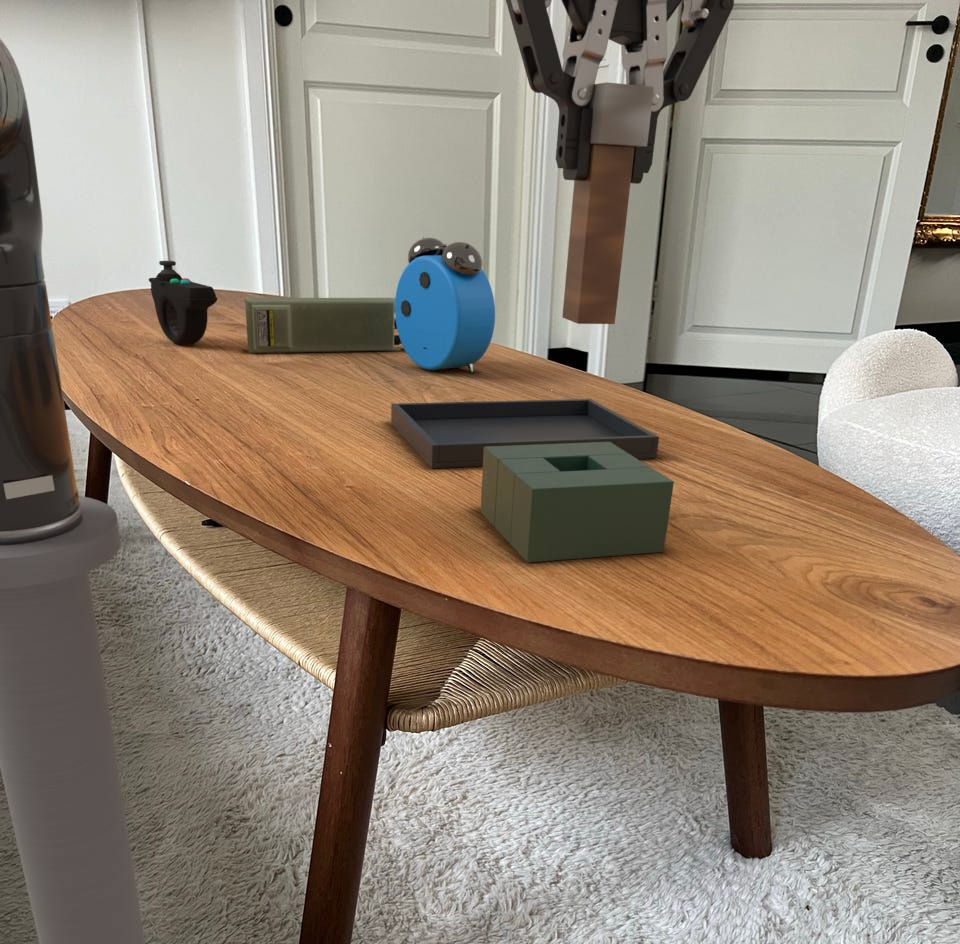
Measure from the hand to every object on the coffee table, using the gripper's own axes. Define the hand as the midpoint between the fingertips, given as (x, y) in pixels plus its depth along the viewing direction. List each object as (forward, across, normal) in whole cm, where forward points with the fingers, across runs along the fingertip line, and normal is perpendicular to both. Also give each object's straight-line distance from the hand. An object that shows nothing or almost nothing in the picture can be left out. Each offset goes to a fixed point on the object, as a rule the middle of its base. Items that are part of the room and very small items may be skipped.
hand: (601, 180), depth 56 cm
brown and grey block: (+8, 0, 0) cm, 8 cm away
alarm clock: (+23, -7, -58) cm, 63 cm away
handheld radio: (+23, +3, -71) cm, 75 cm away
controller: (+23, +23, -76) cm, 83 cm away
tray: (+23, -5, -24) cm, 33 cm away
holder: (+23, 0, 0) cm, 23 cm away
